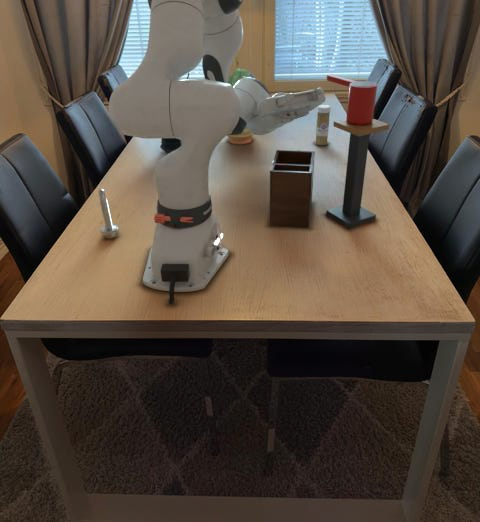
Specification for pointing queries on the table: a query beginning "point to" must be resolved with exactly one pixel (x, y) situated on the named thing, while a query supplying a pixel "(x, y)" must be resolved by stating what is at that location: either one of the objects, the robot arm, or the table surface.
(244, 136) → the potted cactus
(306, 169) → the caddy
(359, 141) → the stand
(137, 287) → the table surface
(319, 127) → the sprinkles bottle
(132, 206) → the table surface
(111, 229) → the screw
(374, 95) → the cup
